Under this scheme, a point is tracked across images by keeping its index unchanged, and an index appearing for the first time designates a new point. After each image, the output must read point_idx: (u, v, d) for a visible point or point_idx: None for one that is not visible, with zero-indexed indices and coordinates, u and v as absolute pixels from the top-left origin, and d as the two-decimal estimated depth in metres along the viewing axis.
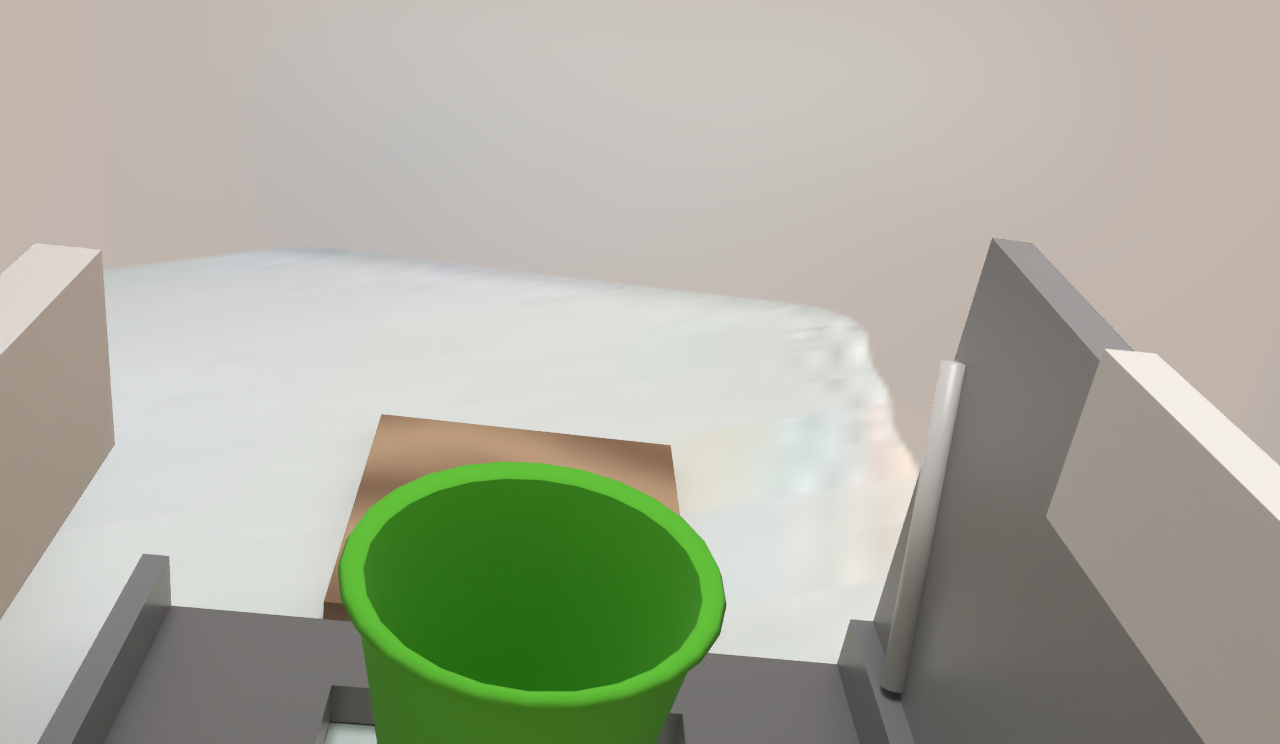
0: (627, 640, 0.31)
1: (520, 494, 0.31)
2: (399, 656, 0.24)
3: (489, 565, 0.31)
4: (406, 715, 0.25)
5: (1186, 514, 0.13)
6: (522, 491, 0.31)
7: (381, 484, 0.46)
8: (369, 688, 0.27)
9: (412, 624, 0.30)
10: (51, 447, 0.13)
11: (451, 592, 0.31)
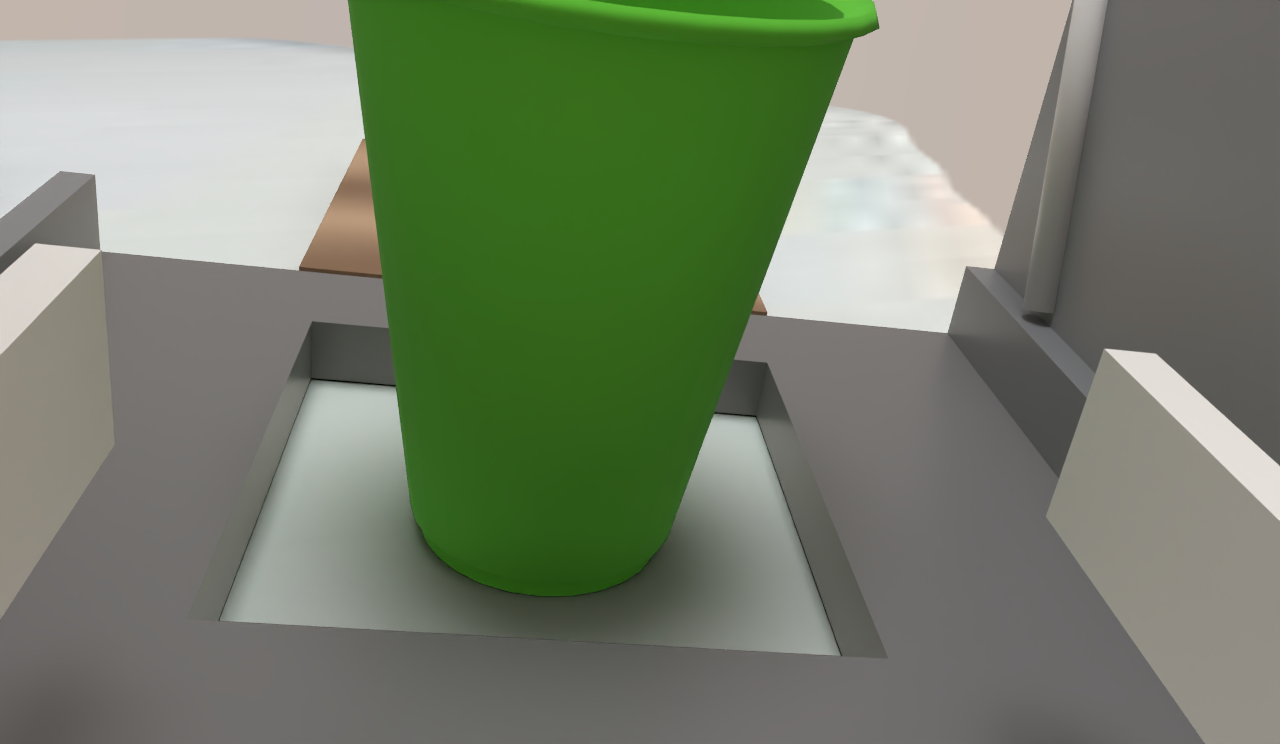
0: None
1: None
2: None
3: None
4: (429, 120, 0.17)
5: (1186, 514, 0.13)
6: None
7: (366, 186, 0.38)
8: (370, 137, 0.18)
9: None
10: (51, 447, 0.13)
11: None
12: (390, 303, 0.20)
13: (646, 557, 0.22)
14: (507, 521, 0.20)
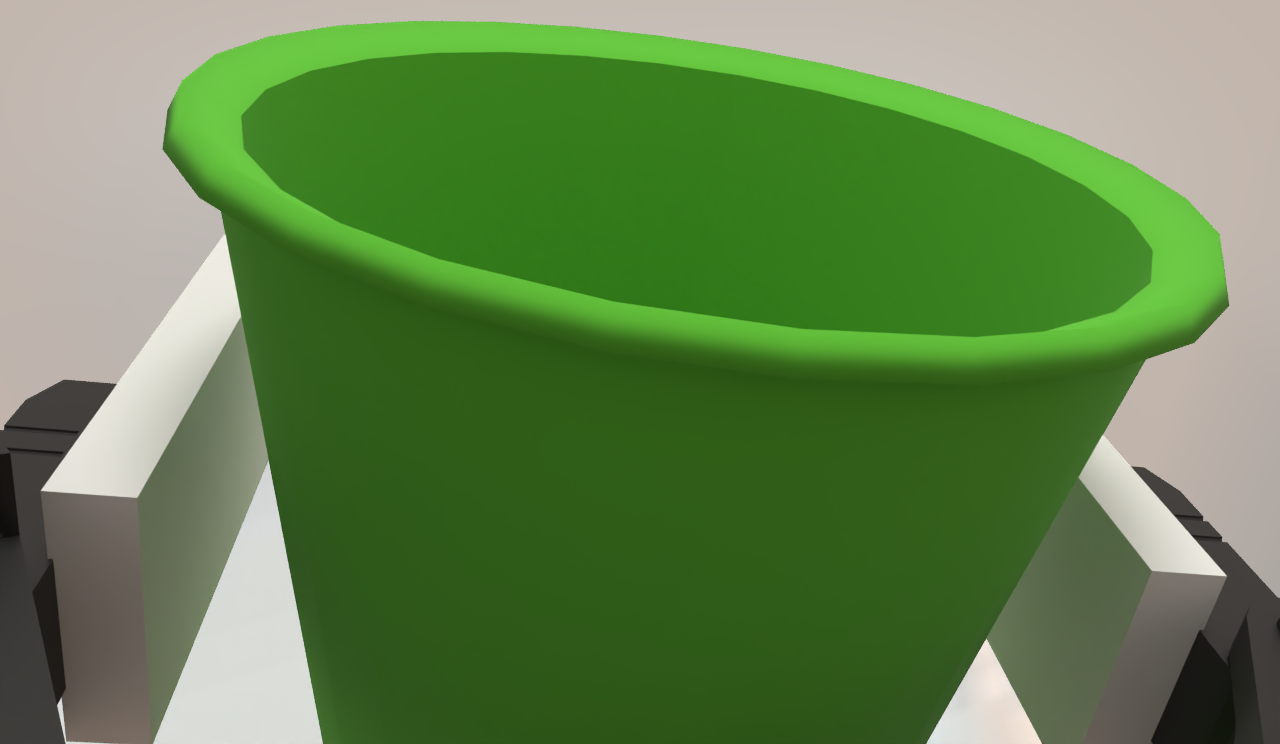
0: None
1: (615, 96, 0.14)
2: (334, 229, 0.07)
3: (548, 264, 0.14)
4: (367, 485, 0.08)
5: None
6: (620, 88, 0.14)
7: None
8: (269, 457, 0.10)
9: None
10: (258, 407, 0.14)
11: None
12: (317, 706, 0.11)
13: None
14: None
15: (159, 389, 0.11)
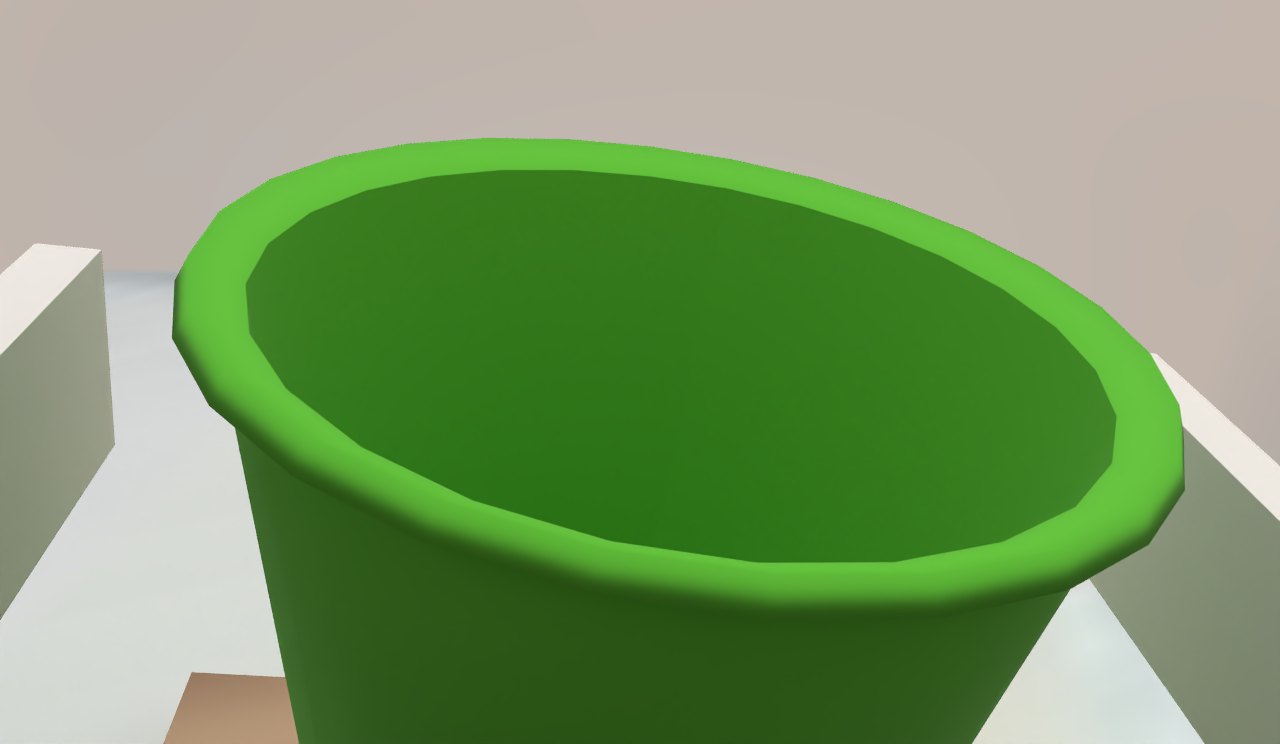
0: (835, 513, 0.15)
1: (605, 208, 0.14)
2: (339, 461, 0.07)
3: (539, 367, 0.15)
4: (367, 662, 0.09)
5: (1186, 514, 0.13)
6: (610, 201, 0.14)
7: None
8: (271, 604, 0.10)
9: None
10: (51, 447, 0.13)
11: (461, 421, 0.15)
12: None
13: None
14: None
15: None
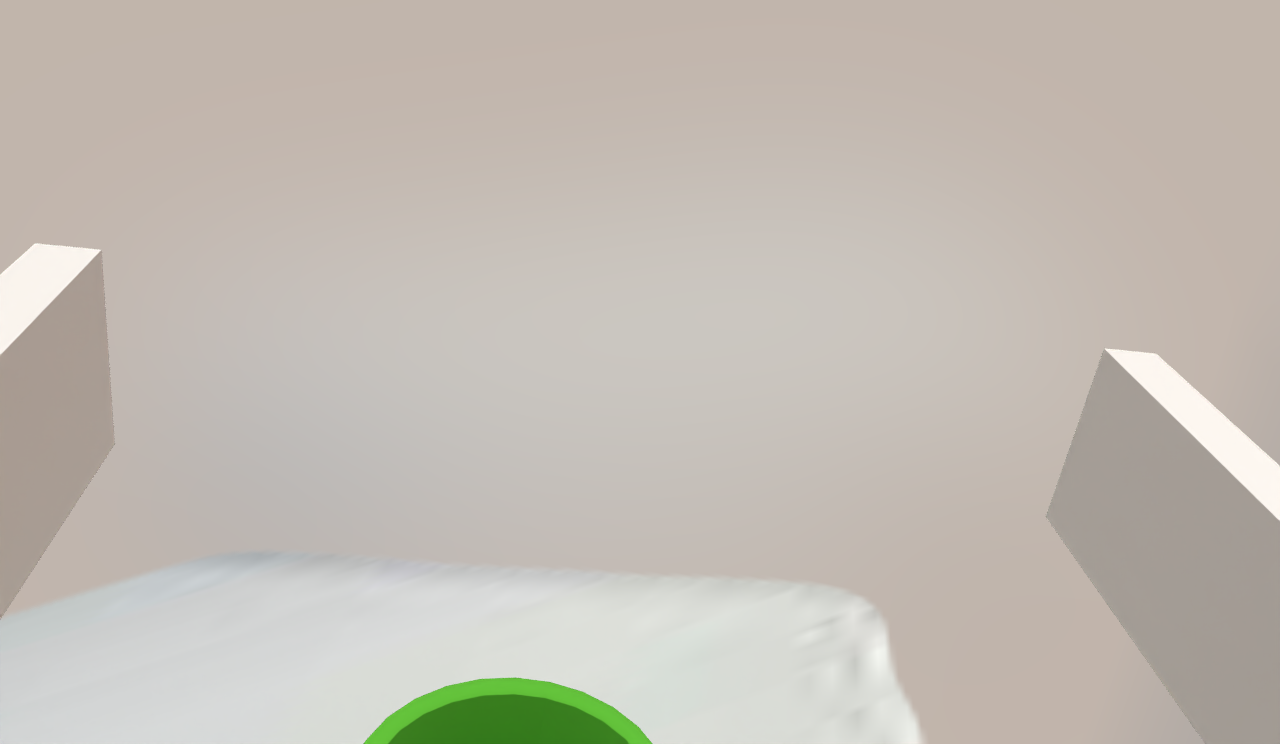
0: None
1: (496, 707, 0.35)
2: None
3: None
4: None
5: (1186, 514, 0.13)
6: (498, 704, 0.35)
7: None
8: None
9: None
10: (51, 447, 0.13)
11: None
12: None
13: None
14: None
15: None
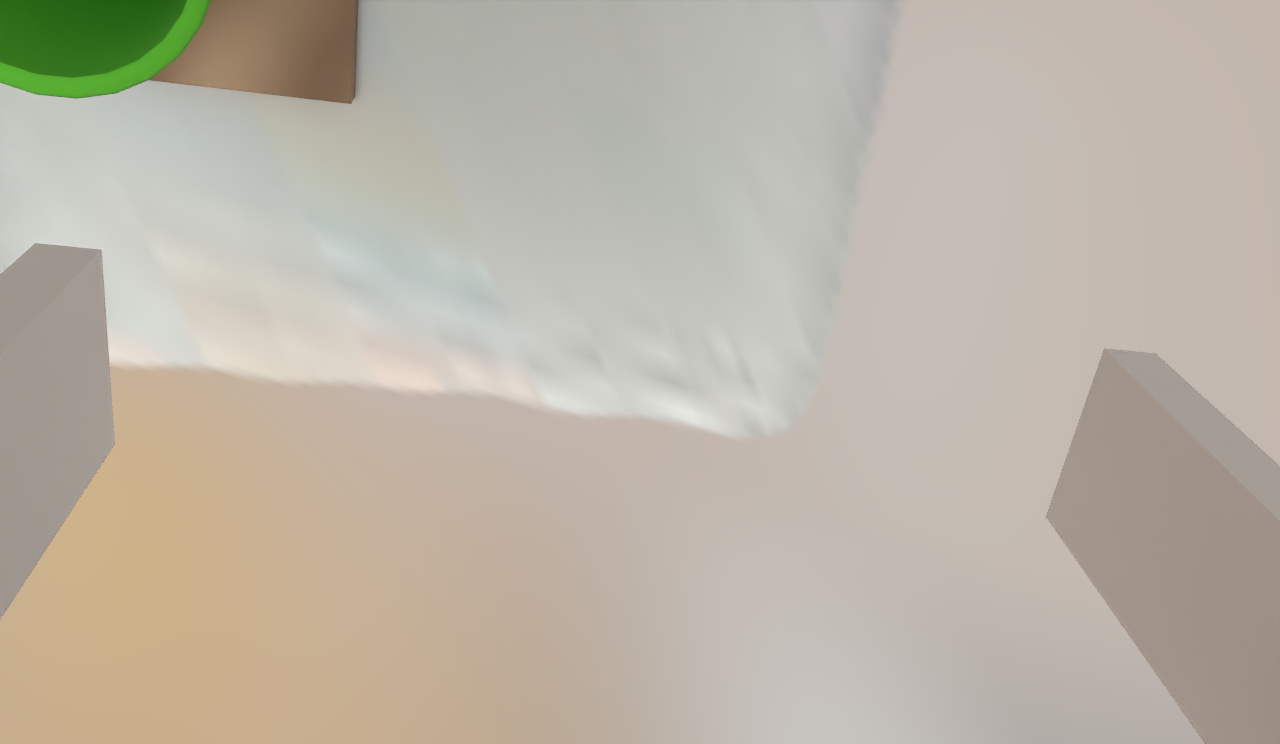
0: (166, 18, 0.35)
1: None
2: None
3: None
4: None
5: (1186, 514, 0.13)
6: None
7: None
8: None
9: None
10: (51, 447, 0.13)
11: None
12: None
13: None
14: None
15: None
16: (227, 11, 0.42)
